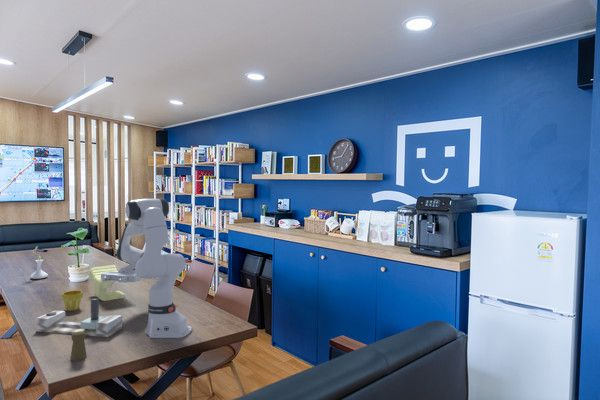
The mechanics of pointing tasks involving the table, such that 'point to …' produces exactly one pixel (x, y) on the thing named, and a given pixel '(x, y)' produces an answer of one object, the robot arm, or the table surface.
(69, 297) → the plant pot
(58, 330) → the rail track
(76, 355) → the olive brown pepper mill
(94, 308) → the carriage
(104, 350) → the table surface
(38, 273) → the flower in vase
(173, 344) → the table surface
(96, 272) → the slatted curved stool
